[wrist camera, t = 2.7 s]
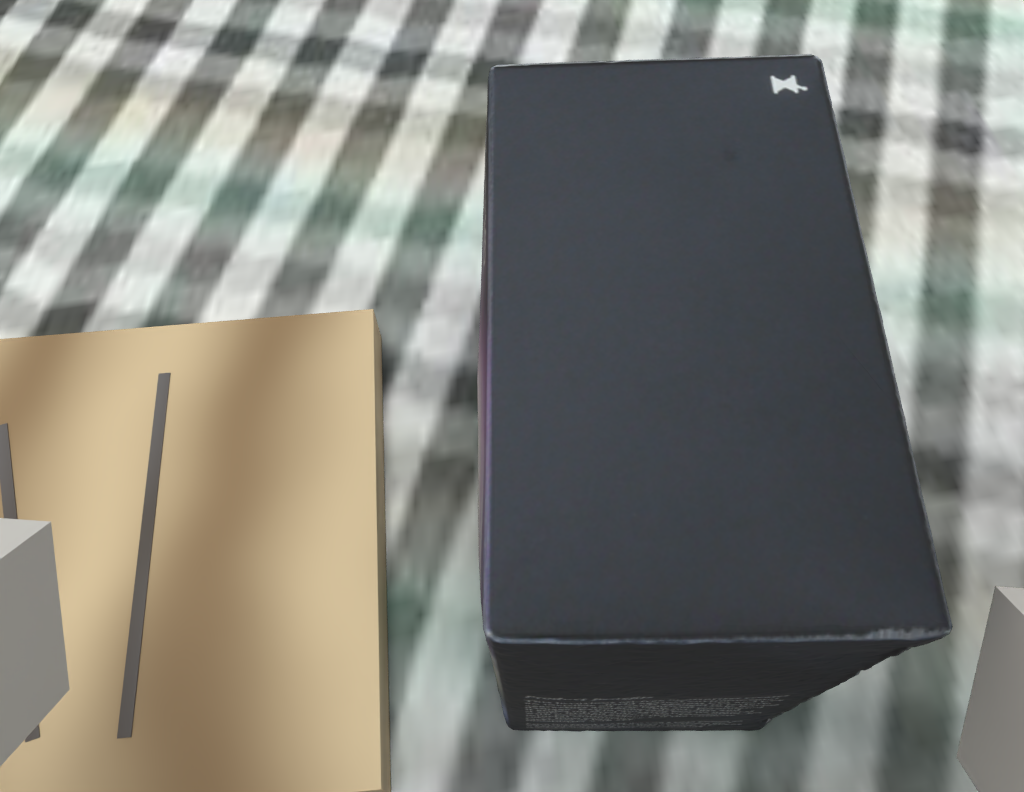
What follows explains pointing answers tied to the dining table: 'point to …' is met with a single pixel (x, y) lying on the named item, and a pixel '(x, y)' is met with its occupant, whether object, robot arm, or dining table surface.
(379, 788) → the oak board
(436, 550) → the dining table surface
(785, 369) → the small box
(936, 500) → the dining table surface
